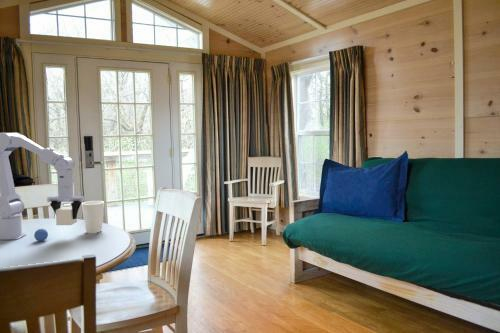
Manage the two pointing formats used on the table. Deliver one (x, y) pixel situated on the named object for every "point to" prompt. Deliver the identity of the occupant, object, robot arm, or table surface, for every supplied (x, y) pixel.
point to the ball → (41, 234)
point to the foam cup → (93, 215)
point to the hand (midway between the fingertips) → (66, 218)
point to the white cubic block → (65, 216)
